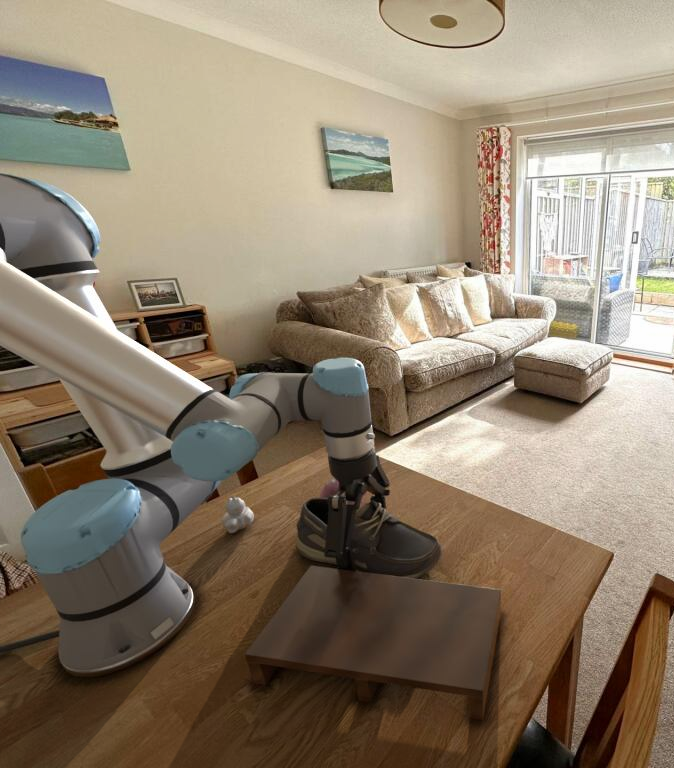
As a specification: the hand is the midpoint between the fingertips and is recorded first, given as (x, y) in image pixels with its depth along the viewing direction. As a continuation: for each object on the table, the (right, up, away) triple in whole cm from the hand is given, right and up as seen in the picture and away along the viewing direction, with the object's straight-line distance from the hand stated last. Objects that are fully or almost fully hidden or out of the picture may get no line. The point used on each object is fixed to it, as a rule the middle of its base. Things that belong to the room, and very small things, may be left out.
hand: (365, 548), depth 76 cm
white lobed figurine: (-29, +1, +7) cm, 29 cm away
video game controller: (-10, +4, +15) cm, 18 cm away
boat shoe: (0, -2, +1) cm, 2 cm away
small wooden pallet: (+9, -9, -15) cm, 19 cm away
